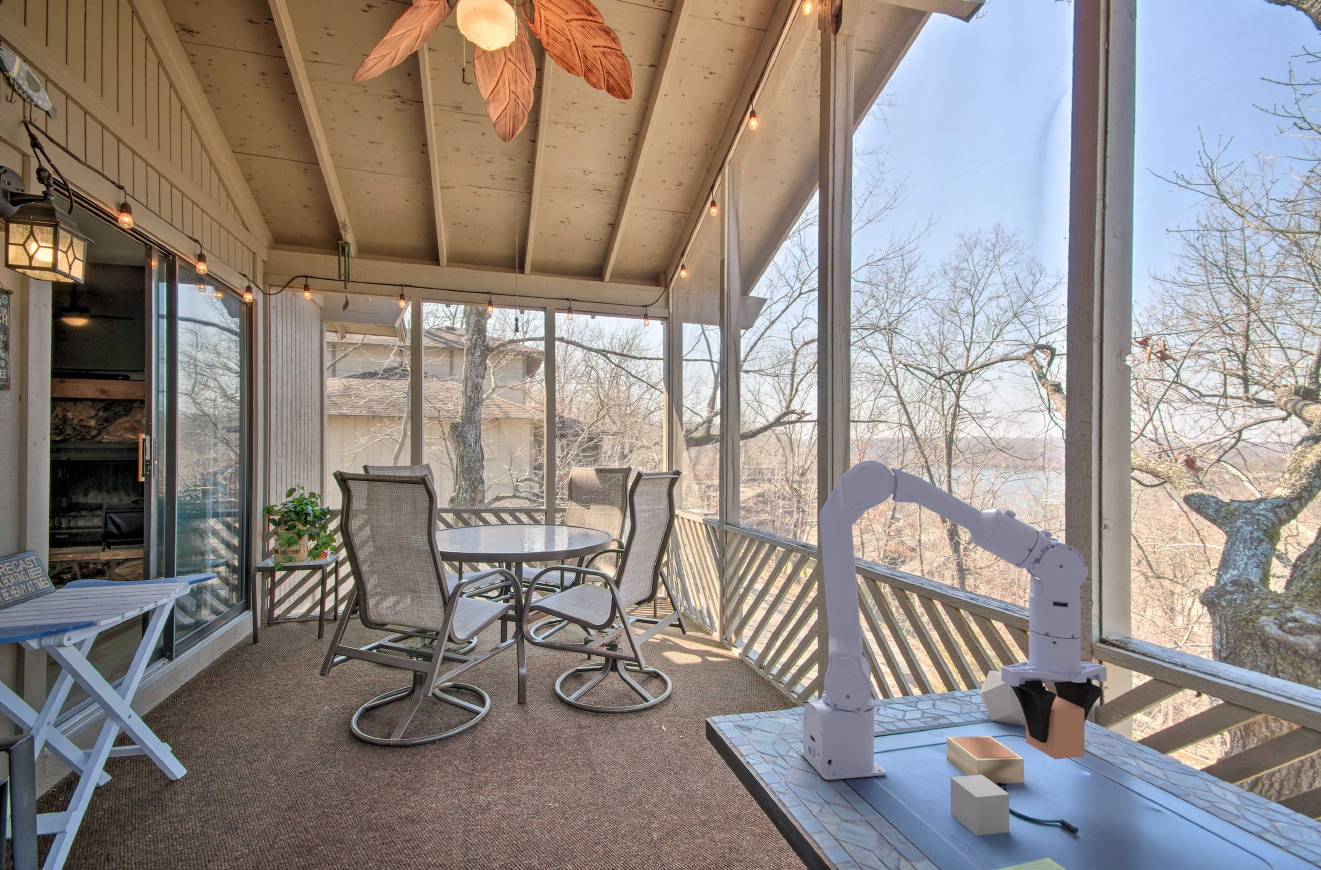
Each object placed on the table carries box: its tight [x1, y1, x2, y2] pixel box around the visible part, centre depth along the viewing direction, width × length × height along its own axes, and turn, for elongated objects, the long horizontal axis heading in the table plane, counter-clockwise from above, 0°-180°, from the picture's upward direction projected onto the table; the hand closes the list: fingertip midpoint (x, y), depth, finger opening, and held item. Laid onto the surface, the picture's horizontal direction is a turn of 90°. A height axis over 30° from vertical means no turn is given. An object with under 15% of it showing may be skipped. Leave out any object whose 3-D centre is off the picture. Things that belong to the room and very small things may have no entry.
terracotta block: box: [1025, 696, 1086, 760], centre depth 78 cm, size 4×4×6 cm
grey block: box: [950, 775, 1010, 837], centre depth 73 cm, size 4×4×4 cm
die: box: [978, 670, 1026, 728], centre depth 103 cm, size 8×9×10 cm
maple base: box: [946, 735, 1025, 785], centre depth 86 cm, size 7×7×4 cm
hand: (1054, 737), depth 78 cm, fingers closed on terracotta block, 4 cm apart
